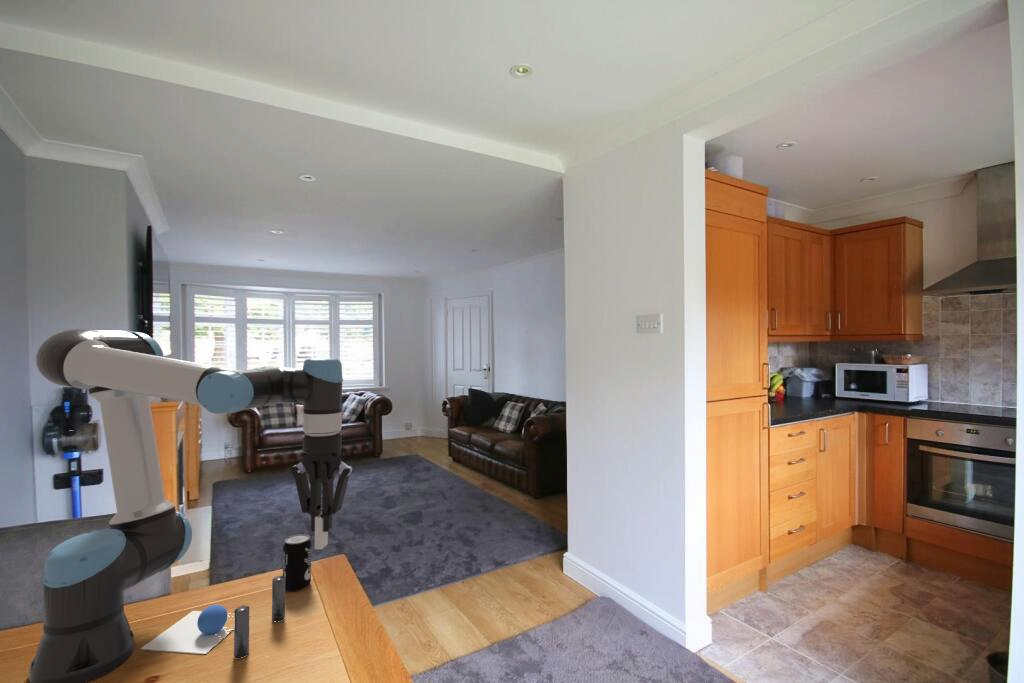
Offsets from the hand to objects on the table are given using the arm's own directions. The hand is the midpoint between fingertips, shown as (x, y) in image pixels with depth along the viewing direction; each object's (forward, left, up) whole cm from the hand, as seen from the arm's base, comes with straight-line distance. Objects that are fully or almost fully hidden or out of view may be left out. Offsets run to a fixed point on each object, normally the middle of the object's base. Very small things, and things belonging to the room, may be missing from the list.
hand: (321, 546), depth 101 cm
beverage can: (-17, +21, -20) cm, 33 cm away
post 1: (-13, -6, -19) cm, 24 cm away
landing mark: (-27, 0, -19) cm, 33 cm away
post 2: (-13, +6, -19) cm, 24 cm away
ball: (-24, 0, -17) cm, 29 cm away
